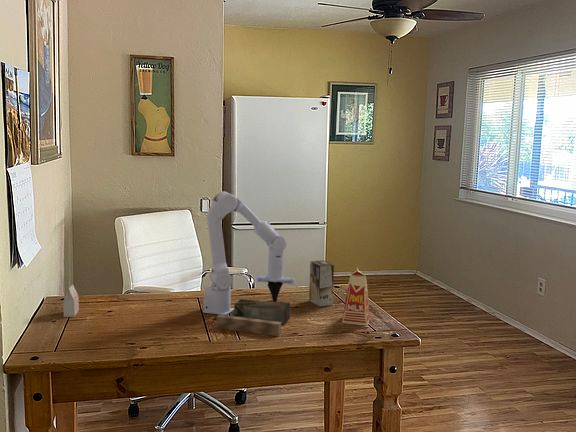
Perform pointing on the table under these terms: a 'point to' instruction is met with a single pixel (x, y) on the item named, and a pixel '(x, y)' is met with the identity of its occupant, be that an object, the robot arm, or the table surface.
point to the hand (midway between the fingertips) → (274, 301)
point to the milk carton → (356, 300)
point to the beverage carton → (263, 310)
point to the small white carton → (71, 303)
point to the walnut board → (249, 325)
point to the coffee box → (321, 283)
